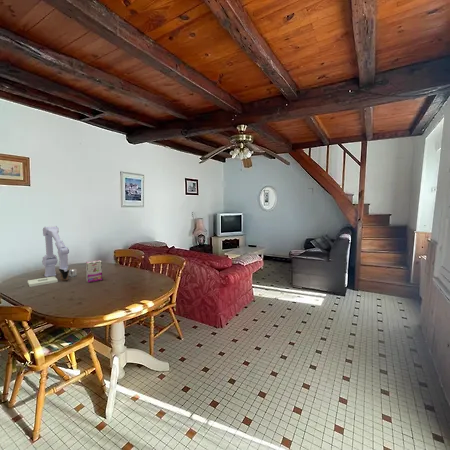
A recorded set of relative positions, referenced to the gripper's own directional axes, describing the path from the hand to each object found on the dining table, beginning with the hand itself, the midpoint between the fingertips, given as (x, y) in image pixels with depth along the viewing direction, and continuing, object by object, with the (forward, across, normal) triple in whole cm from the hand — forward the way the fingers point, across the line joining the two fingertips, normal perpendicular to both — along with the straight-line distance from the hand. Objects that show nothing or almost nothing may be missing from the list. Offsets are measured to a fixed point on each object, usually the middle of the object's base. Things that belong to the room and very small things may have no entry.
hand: (64, 278), depth 201 cm
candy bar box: (+2, -18, -18) cm, 26 cm away
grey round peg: (+2, +7, -8) cm, 11 cm away
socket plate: (+2, +3, +14) cm, 14 cm away
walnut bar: (+2, 0, 0) cm, 2 cm away
